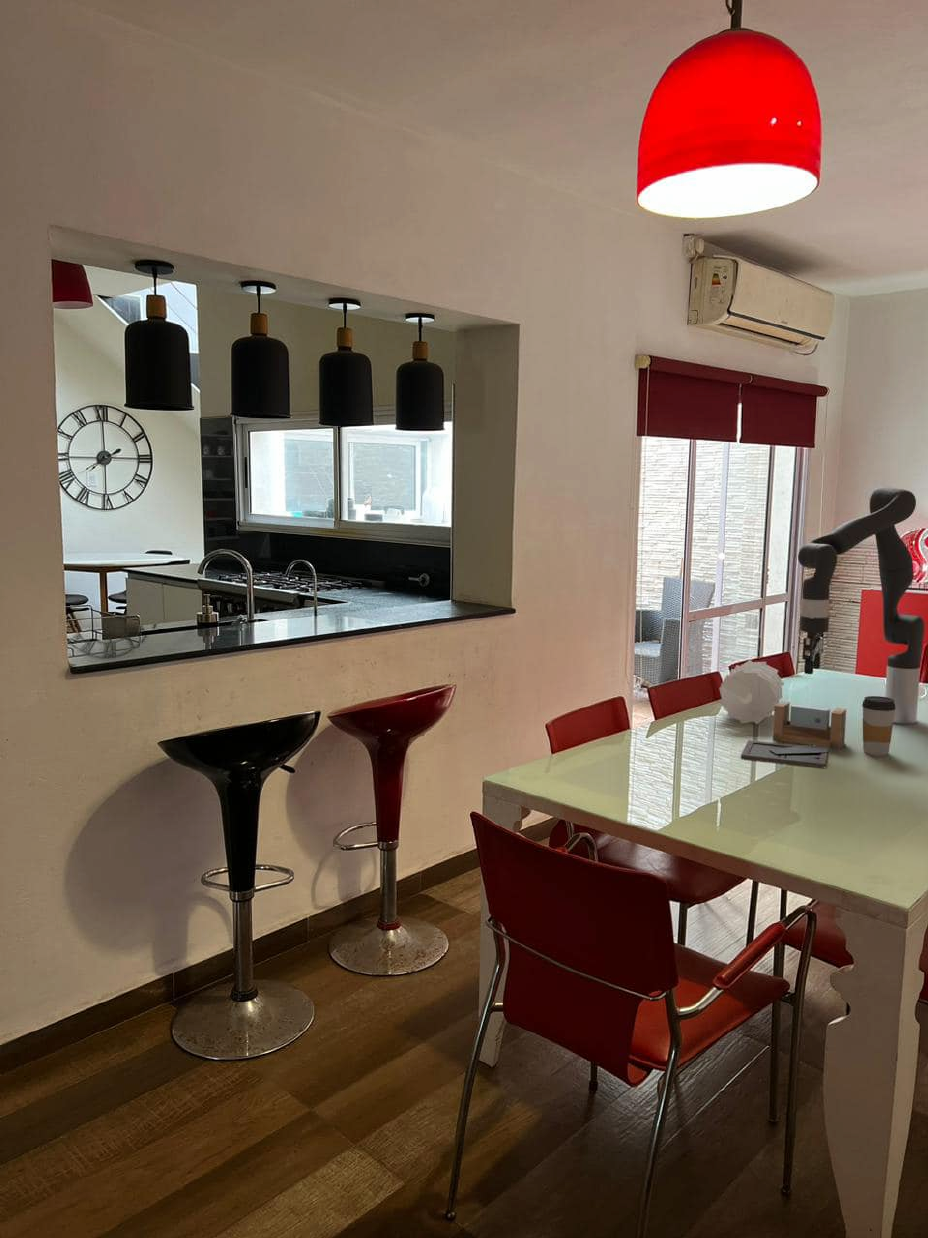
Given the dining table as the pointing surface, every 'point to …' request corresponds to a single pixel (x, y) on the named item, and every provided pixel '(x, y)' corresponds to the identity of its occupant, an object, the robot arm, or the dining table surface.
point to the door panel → (810, 717)
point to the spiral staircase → (751, 691)
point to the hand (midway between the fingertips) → (812, 671)
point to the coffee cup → (877, 724)
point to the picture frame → (786, 753)
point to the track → (809, 729)
